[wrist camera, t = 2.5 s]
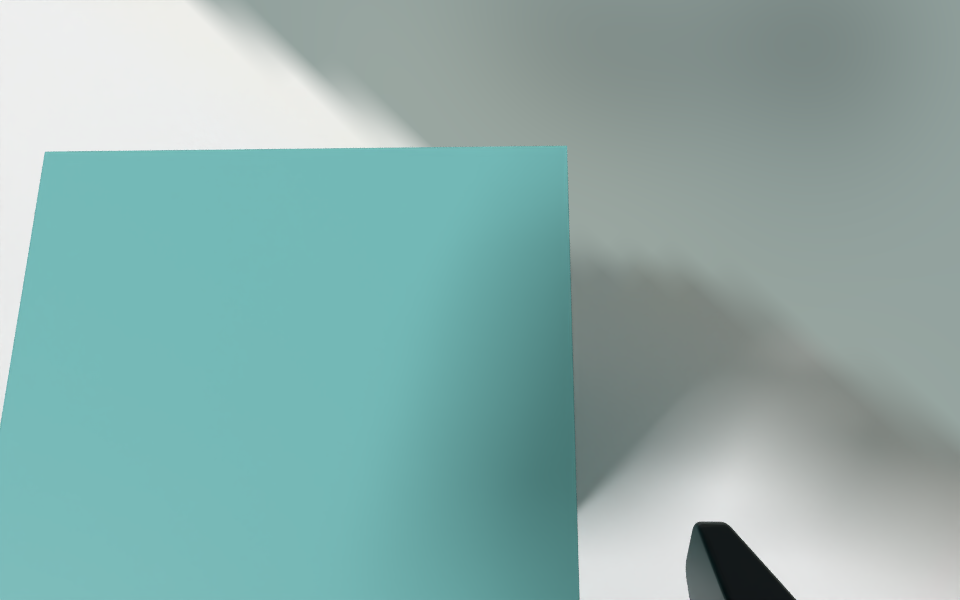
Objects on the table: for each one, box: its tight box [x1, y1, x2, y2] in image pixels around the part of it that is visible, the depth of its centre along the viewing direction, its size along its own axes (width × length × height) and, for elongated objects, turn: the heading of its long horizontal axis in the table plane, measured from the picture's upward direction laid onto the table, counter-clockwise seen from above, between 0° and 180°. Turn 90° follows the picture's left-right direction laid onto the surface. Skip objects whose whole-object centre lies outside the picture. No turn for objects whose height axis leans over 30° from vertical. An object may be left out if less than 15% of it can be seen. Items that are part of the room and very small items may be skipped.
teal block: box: [0, 146, 579, 600], centre depth 12 cm, size 5×5×13 cm
